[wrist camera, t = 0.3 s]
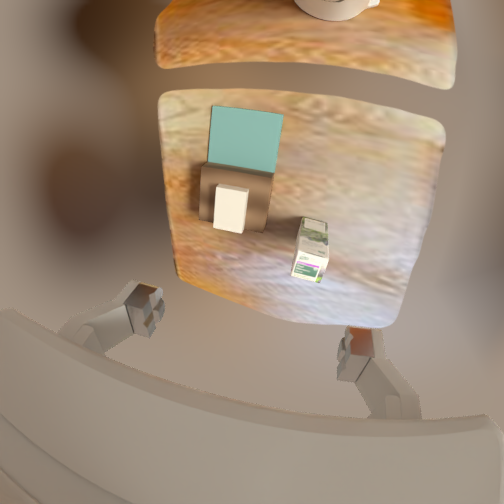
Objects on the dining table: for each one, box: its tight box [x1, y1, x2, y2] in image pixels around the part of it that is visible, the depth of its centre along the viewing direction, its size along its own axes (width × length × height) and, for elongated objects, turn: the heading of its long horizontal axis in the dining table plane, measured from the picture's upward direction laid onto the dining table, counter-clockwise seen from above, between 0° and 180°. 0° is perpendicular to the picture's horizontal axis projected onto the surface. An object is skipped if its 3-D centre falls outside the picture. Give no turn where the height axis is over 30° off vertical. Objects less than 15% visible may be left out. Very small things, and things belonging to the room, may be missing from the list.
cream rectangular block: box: [213, 184, 249, 234], centre depth 57 cm, size 9×6×2 cm, turn 173°
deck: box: [199, 162, 274, 233], centre depth 58 cm, size 12×14×4 cm
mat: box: [208, 106, 283, 173], centre depth 53 cm, size 12×14×1 cm
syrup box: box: [291, 217, 329, 283], centre depth 55 cm, size 6×6×14 cm
